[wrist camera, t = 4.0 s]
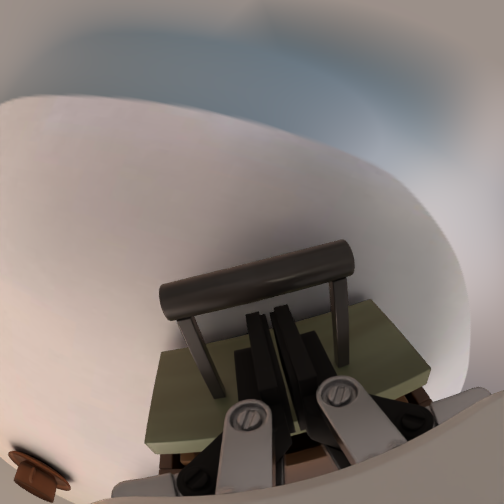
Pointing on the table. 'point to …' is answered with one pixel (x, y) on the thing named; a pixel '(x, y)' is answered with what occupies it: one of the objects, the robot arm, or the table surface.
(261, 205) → the table surface
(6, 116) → the table surface
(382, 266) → the table surface
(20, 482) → the cup and saucer
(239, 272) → the drawer
